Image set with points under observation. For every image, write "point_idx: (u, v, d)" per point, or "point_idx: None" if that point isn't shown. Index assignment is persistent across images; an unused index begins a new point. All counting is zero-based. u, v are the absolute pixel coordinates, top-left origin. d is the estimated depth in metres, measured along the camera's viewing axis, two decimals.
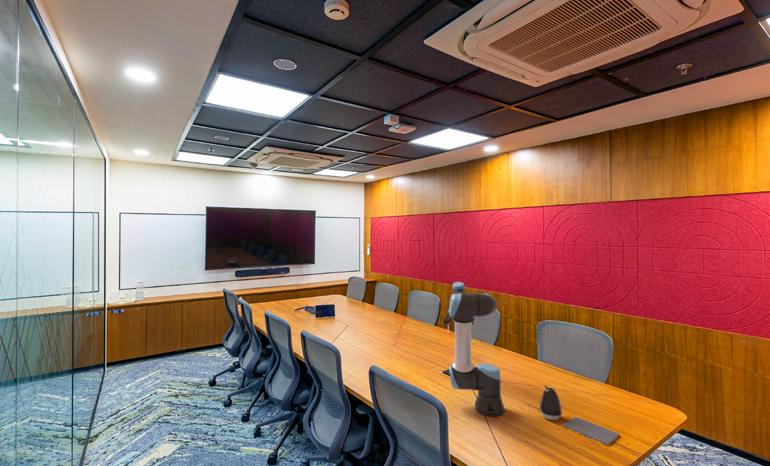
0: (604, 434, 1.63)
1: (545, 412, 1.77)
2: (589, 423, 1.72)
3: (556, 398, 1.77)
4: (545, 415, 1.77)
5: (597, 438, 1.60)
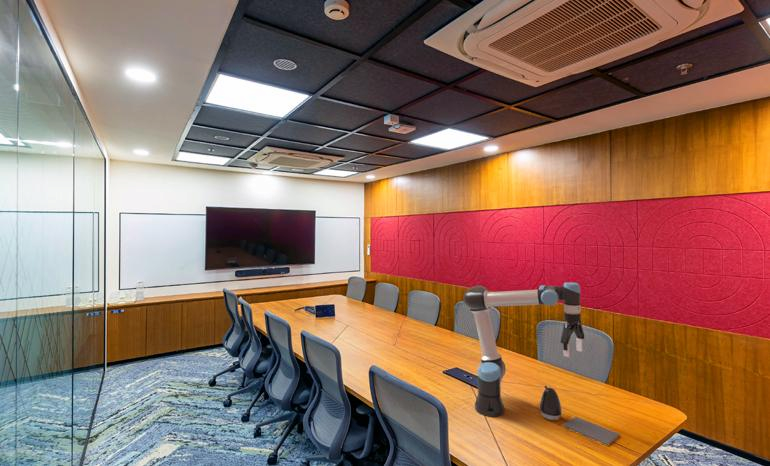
0: (604, 434, 1.63)
1: (545, 412, 1.77)
2: (589, 423, 1.72)
3: (556, 398, 1.77)
4: (545, 415, 1.77)
5: (597, 438, 1.60)
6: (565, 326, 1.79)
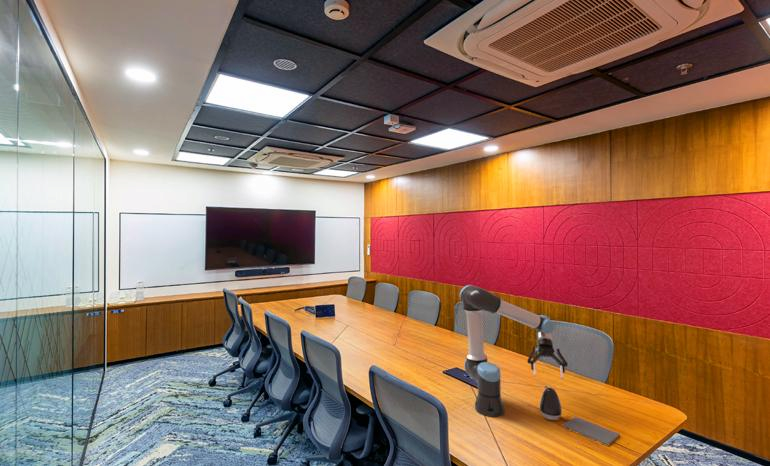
0: (604, 434, 1.63)
1: (545, 412, 1.77)
2: (589, 423, 1.72)
3: (556, 398, 1.77)
4: (545, 415, 1.77)
5: (597, 438, 1.60)
6: None
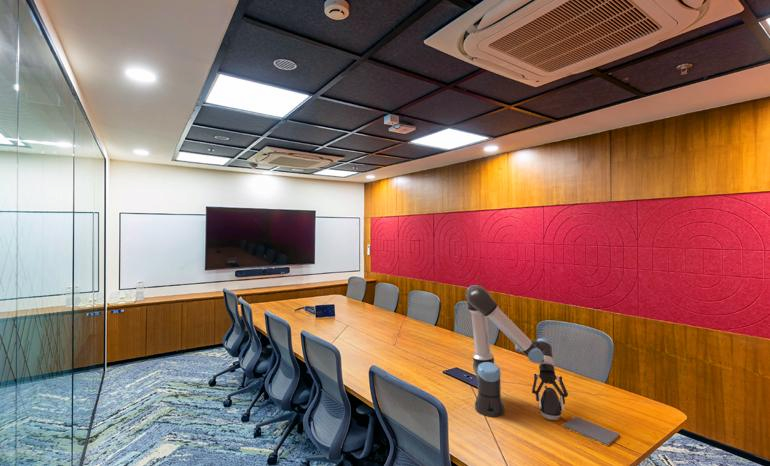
0: (604, 434, 1.63)
1: (545, 412, 1.77)
2: (589, 423, 1.72)
3: (556, 398, 1.77)
4: (545, 415, 1.77)
5: (597, 438, 1.60)
6: (561, 379, 1.86)
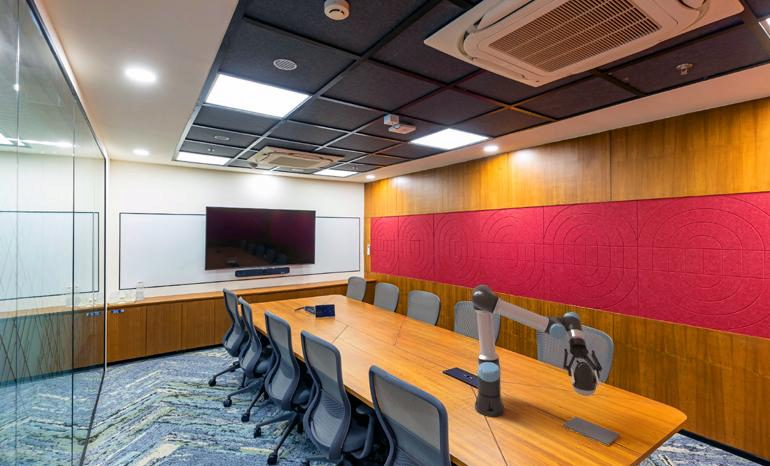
0: (604, 434, 1.63)
1: (579, 387, 1.67)
2: (589, 423, 1.72)
3: (590, 372, 1.67)
4: (579, 390, 1.67)
5: (597, 438, 1.60)
6: None
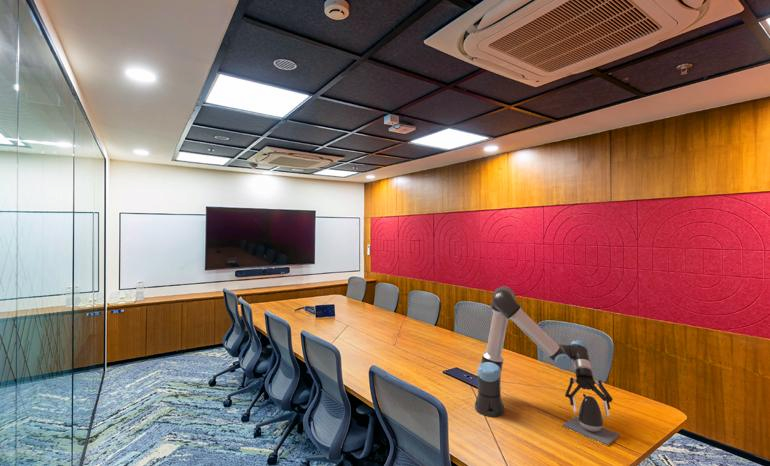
0: (604, 434, 1.63)
1: (585, 422, 1.64)
2: None
3: (597, 407, 1.64)
4: (585, 426, 1.65)
5: (597, 438, 1.60)
6: None
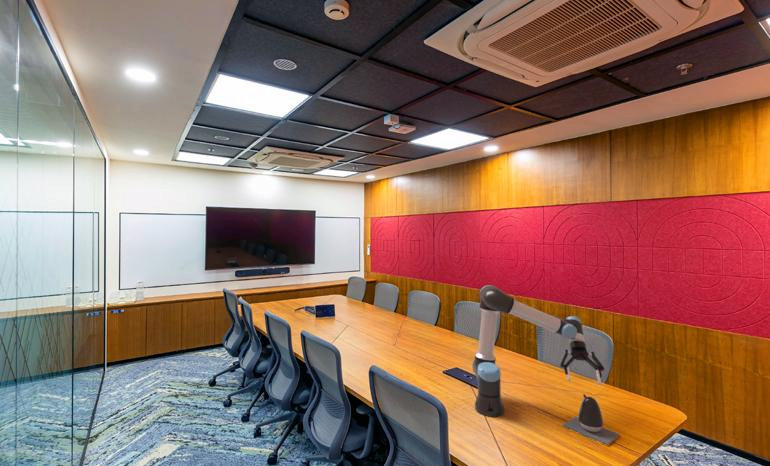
0: (604, 434, 1.63)
1: (585, 423, 1.64)
2: None
3: (597, 408, 1.64)
4: (585, 426, 1.65)
5: (597, 438, 1.60)
6: None
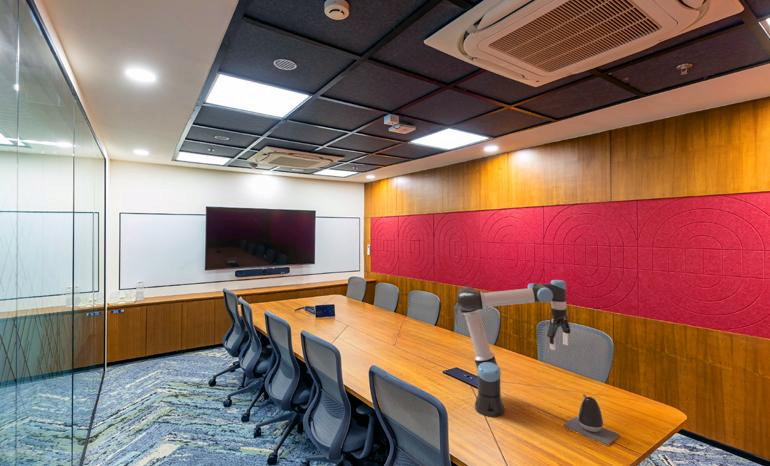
0: (604, 434, 1.63)
1: (585, 423, 1.64)
2: None
3: (597, 408, 1.64)
4: (585, 426, 1.65)
5: (597, 438, 1.60)
6: None
